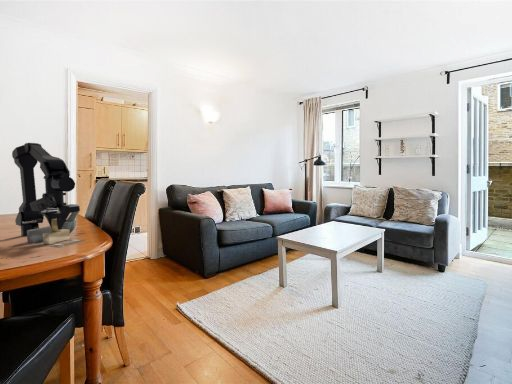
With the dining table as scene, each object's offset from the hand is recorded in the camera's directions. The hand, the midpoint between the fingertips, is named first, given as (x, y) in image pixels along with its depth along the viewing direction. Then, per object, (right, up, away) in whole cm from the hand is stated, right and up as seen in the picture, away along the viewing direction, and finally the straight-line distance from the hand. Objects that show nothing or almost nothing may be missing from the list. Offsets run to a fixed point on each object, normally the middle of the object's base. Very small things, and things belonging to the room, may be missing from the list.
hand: (56, 229), depth 113 cm
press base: (-1, -7, +1) cm, 7 cm away
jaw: (0, -5, 0) cm, 5 cm away
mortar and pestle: (-8, -6, +17) cm, 19 cm away
